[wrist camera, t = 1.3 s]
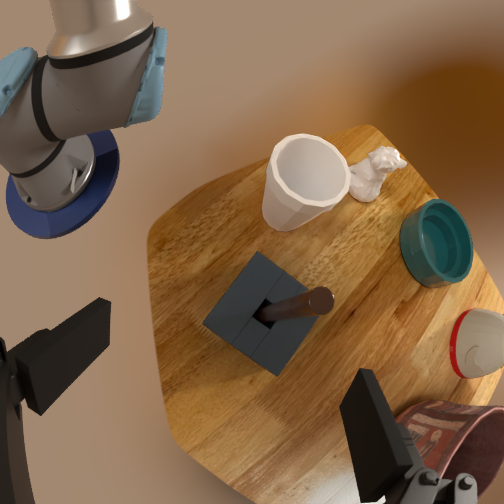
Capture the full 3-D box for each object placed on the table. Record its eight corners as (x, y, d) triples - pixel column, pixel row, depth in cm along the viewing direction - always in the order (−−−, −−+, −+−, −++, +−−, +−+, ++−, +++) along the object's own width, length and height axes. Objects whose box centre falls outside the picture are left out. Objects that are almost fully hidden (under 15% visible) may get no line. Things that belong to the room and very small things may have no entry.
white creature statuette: (370, 161, 49) (405, 125, 38) (385, 204, 47) (427, 173, 36) (325, 161, 47) (356, 119, 36) (340, 208, 45) (378, 173, 34)
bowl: (384, 226, 46) (404, 213, 40) (430, 201, 50) (449, 189, 44) (419, 303, 44) (443, 298, 38) (460, 267, 47) (482, 260, 41)
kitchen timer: (458, 391, 41) (516, 397, 26) (442, 332, 43) (506, 325, 29) (492, 353, 44) (544, 349, 30) (477, 298, 46) (533, 284, 32)
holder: (202, 323, 37) (202, 323, 32) (249, 261, 41) (257, 250, 35) (266, 370, 37) (277, 376, 31) (310, 307, 40) (327, 303, 35)
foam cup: (312, 188, 45) (347, 143, 33) (313, 244, 43) (354, 212, 30) (252, 180, 44) (271, 127, 31) (249, 237, 41) (268, 199, 29)
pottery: (427, 372, 41) (508, 377, 23) (446, 438, 38) (514, 456, 21) (347, 435, 36) (421, 477, 19) (378, 497, 33) (438, 539, 16)
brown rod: (249, 312, 39) (303, 293, 18) (261, 307, 39) (327, 281, 18) (255, 324, 39) (316, 319, 18) (267, 319, 39) (339, 306, 18)
